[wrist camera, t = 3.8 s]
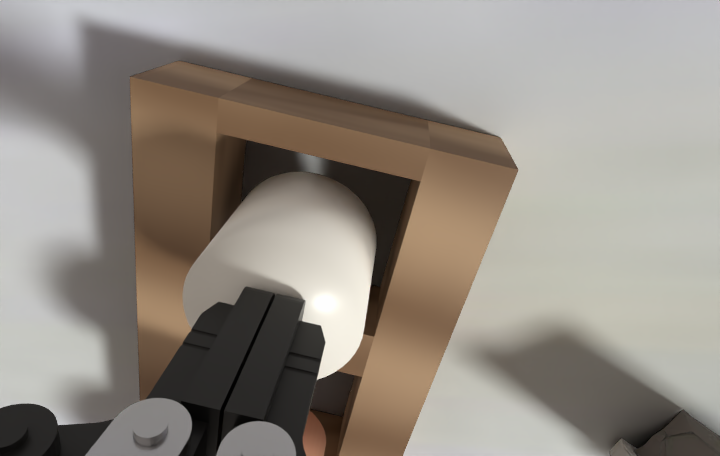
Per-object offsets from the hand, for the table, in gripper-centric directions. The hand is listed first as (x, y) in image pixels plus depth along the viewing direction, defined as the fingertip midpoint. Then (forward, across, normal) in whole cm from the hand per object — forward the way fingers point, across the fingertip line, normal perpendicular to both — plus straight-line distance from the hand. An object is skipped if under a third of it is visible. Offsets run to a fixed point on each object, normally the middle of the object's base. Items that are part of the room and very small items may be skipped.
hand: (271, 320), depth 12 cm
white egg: (+4, 0, 0) cm, 4 cm away
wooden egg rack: (+7, 0, +8) cm, 10 cm away
